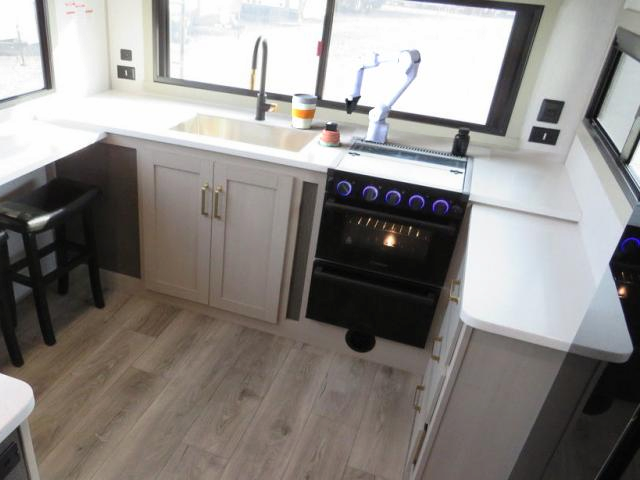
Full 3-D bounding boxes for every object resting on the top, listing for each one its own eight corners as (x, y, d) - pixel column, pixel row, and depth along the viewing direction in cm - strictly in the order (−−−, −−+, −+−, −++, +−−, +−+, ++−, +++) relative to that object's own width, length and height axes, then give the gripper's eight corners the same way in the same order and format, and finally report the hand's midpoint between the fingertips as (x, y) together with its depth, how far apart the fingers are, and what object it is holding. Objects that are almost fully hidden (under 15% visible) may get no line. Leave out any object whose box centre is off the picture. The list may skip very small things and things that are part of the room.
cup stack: (341, 142, 276) (343, 129, 272) (336, 148, 268) (338, 134, 265) (322, 139, 278) (324, 126, 275) (317, 144, 271) (319, 131, 268)
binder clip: (337, 130, 270) (338, 123, 269) (335, 131, 268) (336, 124, 266) (326, 128, 272) (327, 121, 270) (325, 130, 270) (326, 123, 268)
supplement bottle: (465, 153, 272) (472, 127, 265) (465, 157, 266) (472, 131, 260) (450, 151, 274) (457, 125, 267) (450, 155, 268) (456, 129, 262)
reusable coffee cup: (300, 122, 303) (303, 92, 295) (318, 127, 295) (322, 97, 288) (284, 125, 295) (287, 94, 287) (303, 130, 287) (307, 99, 280)
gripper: (350, 79, 284) (346, 107, 291) (344, 85, 272) (339, 114, 280) (364, 81, 282) (359, 109, 289) (358, 87, 270) (353, 116, 278)
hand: (350, 112), depth 284 cm, fingers open, 7 cm apart
